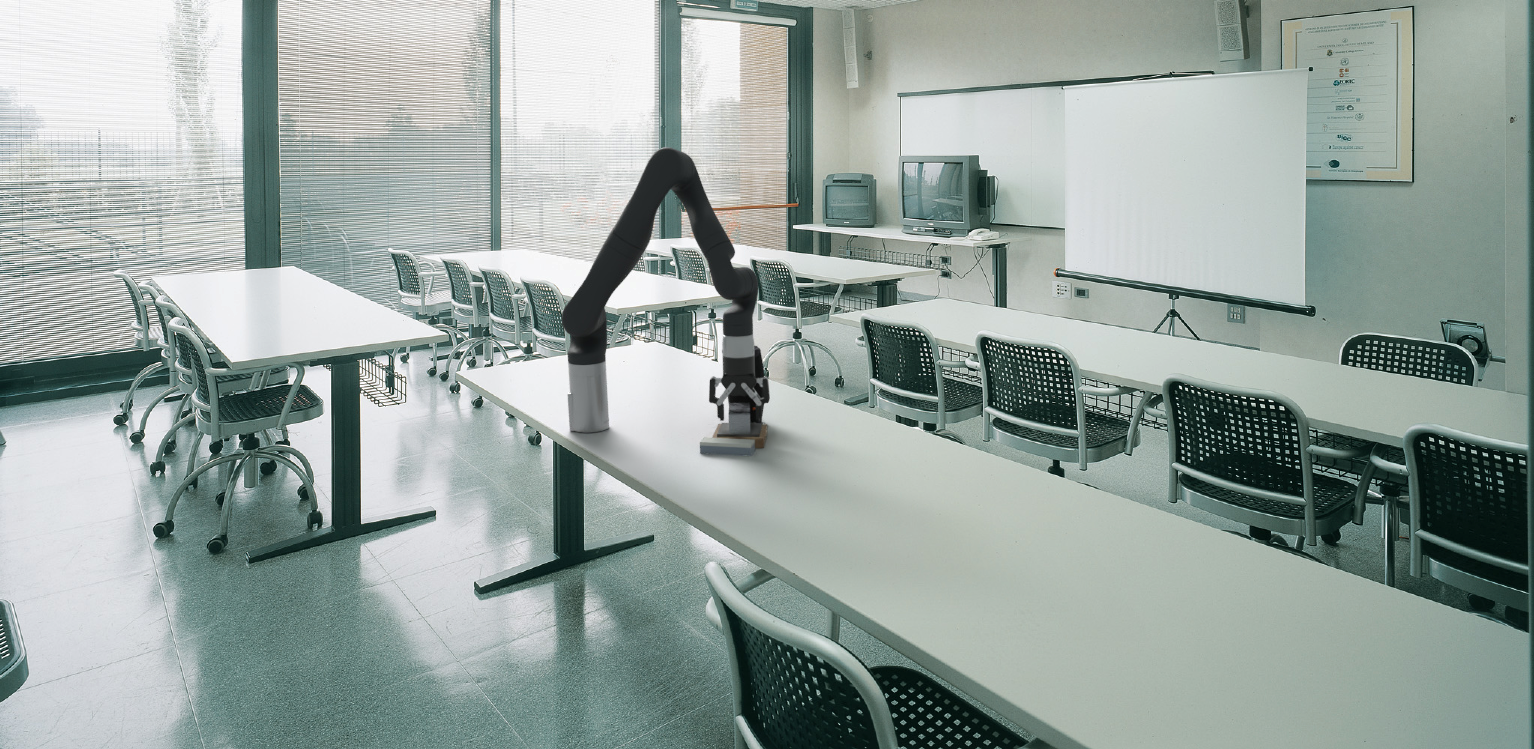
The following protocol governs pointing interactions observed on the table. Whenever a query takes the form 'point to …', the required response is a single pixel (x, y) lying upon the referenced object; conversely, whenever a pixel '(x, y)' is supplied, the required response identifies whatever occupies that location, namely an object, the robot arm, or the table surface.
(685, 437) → the table surface
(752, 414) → the portable speaker
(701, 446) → the eraser
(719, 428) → the stand
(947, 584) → the table surface
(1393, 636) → the table surface
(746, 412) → the block
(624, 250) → the robot arm
